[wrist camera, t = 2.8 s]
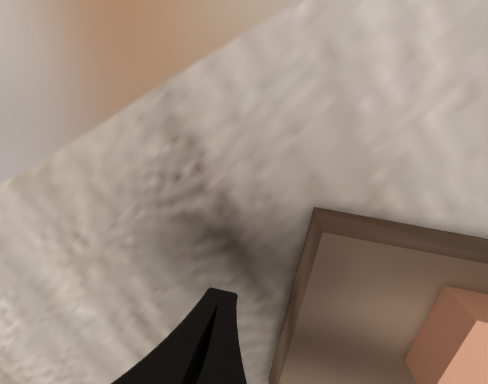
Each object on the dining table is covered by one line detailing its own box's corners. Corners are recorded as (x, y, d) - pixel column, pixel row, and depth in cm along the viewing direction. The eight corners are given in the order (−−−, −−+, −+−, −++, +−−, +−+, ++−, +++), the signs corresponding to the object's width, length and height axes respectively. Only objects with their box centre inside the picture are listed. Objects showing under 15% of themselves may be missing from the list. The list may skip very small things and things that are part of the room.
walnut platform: (469, 428, 18) (504, 488, 15) (269, 378, 19) (267, 424, 16) (600, 260, 13) (690, 303, 10) (314, 207, 14) (322, 232, 11)
